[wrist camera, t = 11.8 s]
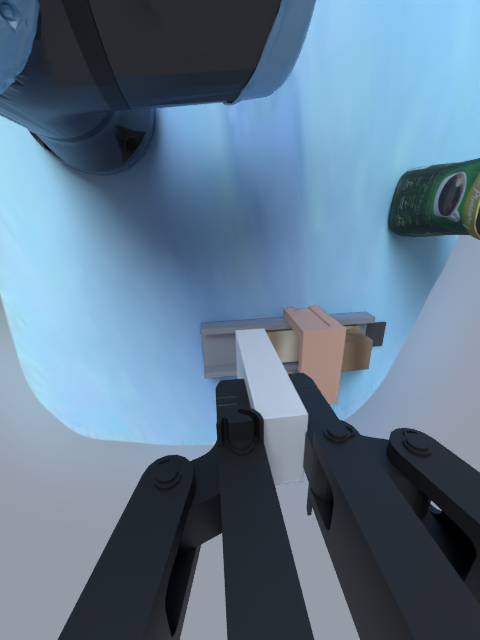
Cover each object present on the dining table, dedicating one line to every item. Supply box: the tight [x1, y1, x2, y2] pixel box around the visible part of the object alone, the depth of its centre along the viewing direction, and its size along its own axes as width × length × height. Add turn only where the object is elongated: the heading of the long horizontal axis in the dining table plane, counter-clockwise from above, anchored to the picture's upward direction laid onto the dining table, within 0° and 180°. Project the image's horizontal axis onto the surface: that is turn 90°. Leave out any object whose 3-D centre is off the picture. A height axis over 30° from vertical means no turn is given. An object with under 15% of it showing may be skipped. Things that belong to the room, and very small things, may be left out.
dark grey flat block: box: [365, 322, 386, 346], centre depth 49 cm, size 4×5×1 cm
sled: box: [266, 324, 373, 371], centre depth 44 cm, size 19×6×6 cm, turn 92°
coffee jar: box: [389, 158, 480, 240], centre depth 33 cm, size 10×8×19 cm
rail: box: [201, 312, 375, 378], centre depth 46 cm, size 29×9×3 cm, turn 92°
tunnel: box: [283, 306, 346, 404], centre depth 43 cm, size 6×12×10 cm, turn 2°
